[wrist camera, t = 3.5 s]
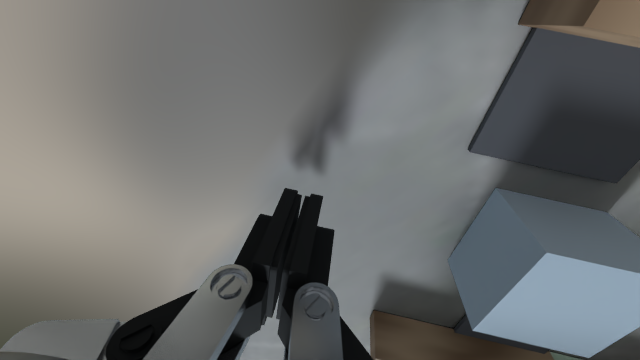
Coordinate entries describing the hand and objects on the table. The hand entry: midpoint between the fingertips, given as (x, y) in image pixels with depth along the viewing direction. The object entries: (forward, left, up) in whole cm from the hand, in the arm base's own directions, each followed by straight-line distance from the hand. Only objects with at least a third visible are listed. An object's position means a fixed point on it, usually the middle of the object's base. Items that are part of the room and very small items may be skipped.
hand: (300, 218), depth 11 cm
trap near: (-9, -6, -2) cm, 11 cm away
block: (-11, 0, -2) cm, 11 cm away
